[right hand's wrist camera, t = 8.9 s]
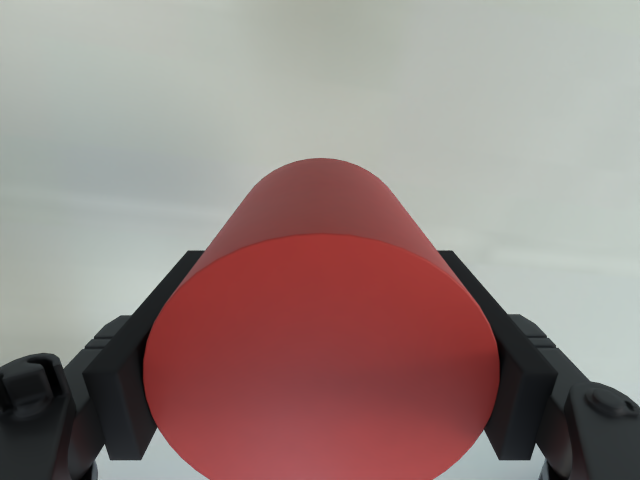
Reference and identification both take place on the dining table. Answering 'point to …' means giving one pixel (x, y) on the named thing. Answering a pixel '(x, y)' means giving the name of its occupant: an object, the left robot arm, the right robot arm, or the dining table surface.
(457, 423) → the canister
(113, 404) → the right robot arm
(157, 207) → the dining table surface
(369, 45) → the dining table surface
